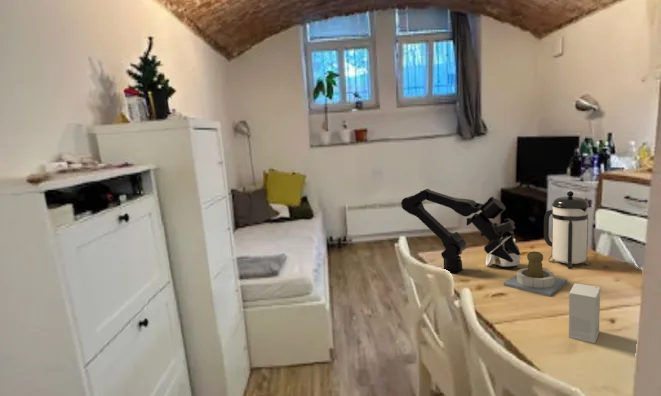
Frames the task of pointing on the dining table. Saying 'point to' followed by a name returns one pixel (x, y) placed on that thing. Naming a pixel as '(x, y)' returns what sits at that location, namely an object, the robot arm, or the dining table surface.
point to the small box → (584, 312)
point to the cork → (535, 265)
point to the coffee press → (568, 229)
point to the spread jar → (504, 263)
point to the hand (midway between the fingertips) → (516, 258)
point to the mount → (536, 282)
